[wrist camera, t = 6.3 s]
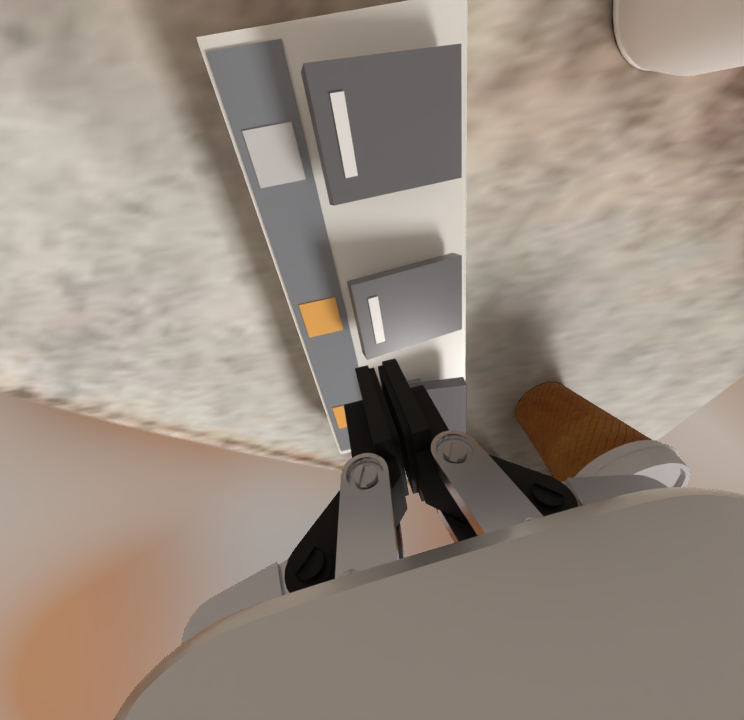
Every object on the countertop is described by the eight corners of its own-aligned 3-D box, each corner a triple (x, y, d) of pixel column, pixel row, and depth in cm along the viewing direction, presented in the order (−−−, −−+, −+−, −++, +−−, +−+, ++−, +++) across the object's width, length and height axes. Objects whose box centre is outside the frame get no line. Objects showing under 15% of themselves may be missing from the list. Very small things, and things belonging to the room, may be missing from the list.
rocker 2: (463, 376, 22) (466, 385, 21) (463, 423, 25) (466, 433, 24) (372, 388, 23) (372, 397, 22) (381, 432, 25) (381, 442, 25)
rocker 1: (449, 52, 13) (462, 42, 13) (451, 178, 16) (462, 177, 15) (300, 71, 12) (303, 62, 11) (330, 205, 15) (334, 205, 14)
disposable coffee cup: (568, 353, 30) (694, 438, 20) (588, 404, 35) (699, 493, 25) (488, 404, 32) (567, 504, 22) (518, 445, 37) (594, 544, 27)
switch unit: (436, 30, 16) (474, -20, 12) (448, 397, 31) (468, 428, 27) (221, 68, 16) (189, 29, 12) (337, 424, 30) (340, 460, 26)
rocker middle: (452, 252, 18) (462, 255, 17) (454, 323, 21) (462, 329, 20) (346, 281, 17) (351, 286, 16) (362, 353, 20) (367, 360, 19)
